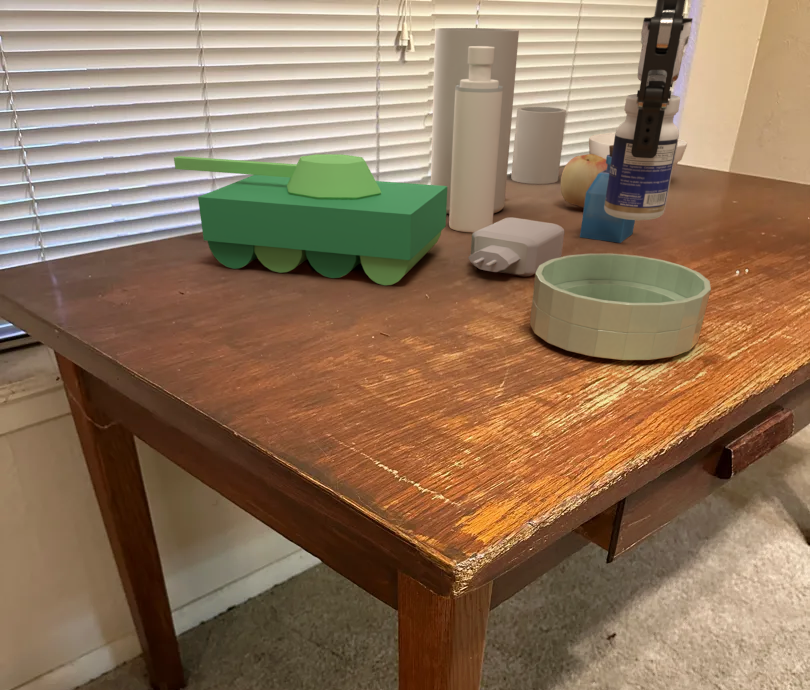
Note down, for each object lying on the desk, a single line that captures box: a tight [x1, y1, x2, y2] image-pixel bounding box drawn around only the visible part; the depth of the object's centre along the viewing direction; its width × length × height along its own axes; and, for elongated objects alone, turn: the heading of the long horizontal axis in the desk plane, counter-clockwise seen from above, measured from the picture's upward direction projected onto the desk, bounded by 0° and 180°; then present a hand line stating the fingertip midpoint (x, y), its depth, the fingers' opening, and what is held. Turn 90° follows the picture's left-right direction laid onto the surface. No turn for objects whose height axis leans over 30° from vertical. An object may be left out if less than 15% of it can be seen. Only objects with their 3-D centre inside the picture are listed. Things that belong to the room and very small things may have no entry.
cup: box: [510, 106, 567, 185], centre depth 145 cm, size 9×9×12 cm
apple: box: [560, 153, 608, 208], centre depth 126 cm, size 9×9×8 cm
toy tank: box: [173, 153, 447, 286], centre depth 99 cm, size 18×12×35 cm
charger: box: [468, 216, 565, 278], centre depth 97 cm, size 5×9×15 cm
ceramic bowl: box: [529, 253, 712, 361], centre depth 78 cm, size 17×17×6 cm
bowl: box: [588, 132, 688, 173], centre depth 146 cm, size 18×18×7 cm
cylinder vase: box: [430, 27, 520, 215], centre depth 120 cm, size 12×12×25 cm
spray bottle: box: [448, 46, 503, 234], centre depth 109 cm, size 7×7×25 cm
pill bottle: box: [604, 93, 681, 221], centre depth 70 cm, size 6×6×10 cm
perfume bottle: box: [579, 145, 636, 244], centre depth 110 cm, size 6×6×12 cm
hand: (644, 150), depth 70 cm, fingers closed on pill bottle, 5 cm apart
